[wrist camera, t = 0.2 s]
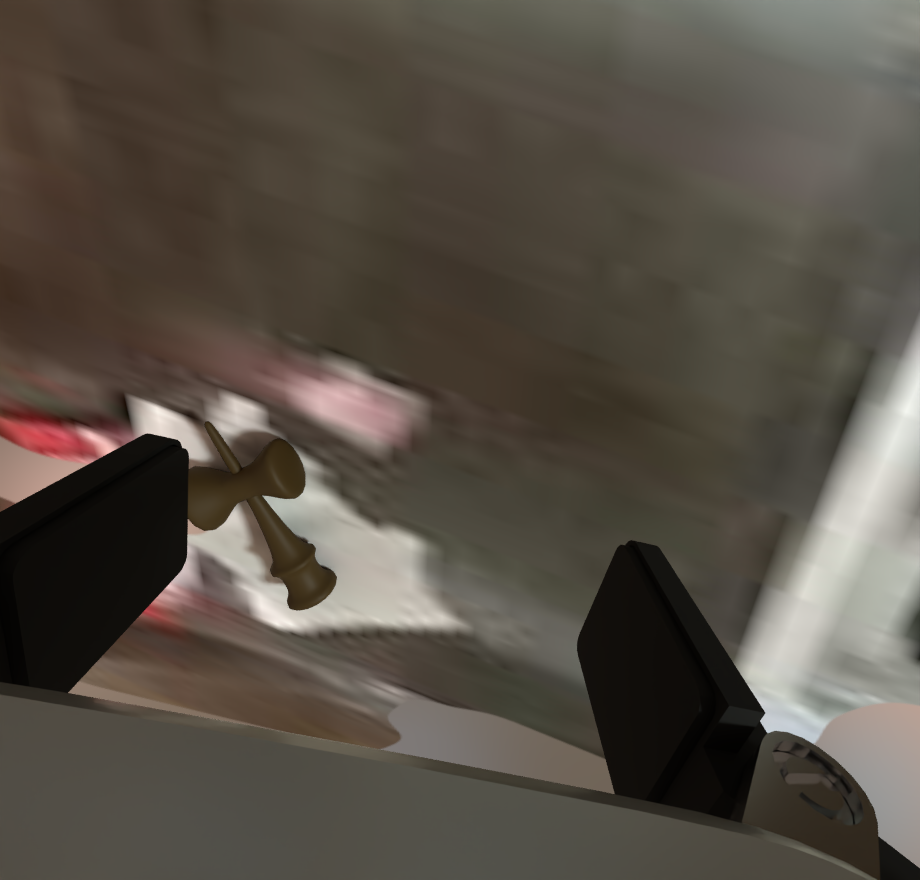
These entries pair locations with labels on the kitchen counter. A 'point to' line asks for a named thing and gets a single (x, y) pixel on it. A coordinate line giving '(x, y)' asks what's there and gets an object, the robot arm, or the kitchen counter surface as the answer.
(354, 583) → the kitchen counter surface
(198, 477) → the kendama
